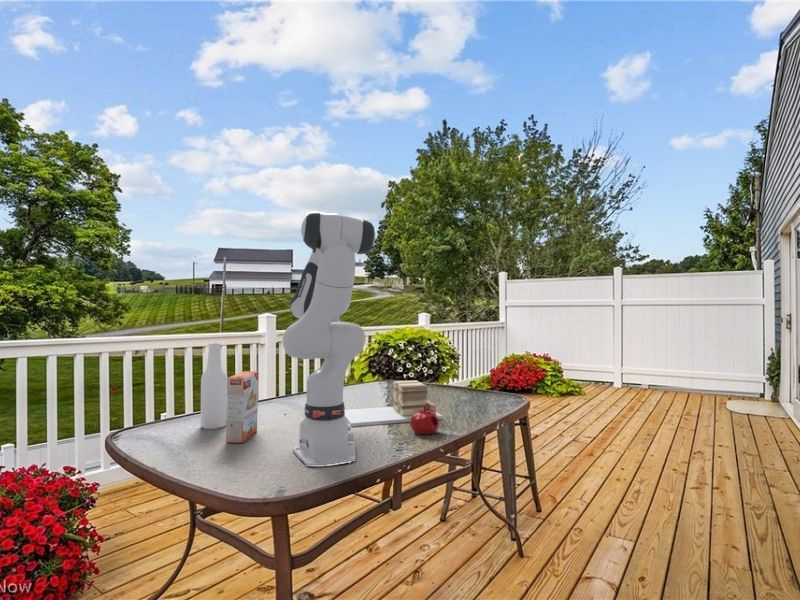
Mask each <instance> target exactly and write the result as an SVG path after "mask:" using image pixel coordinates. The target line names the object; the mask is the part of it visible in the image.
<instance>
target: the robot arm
mask: <svg viewBox="0 0 800 600" xmlns="http://www.w3.org/2000/svg"><path fill="white" fill-rule="evenodd" d="M300 232H301V237H302V241H303V242H304V244H305V245H306V246H307V247H308V248H310V249H311V250H312V252H311V254H310V255H309V258H308V260H307V262H306V265H305V267H304V269H303V270H302V271H303V272H302V274H301V276H300V277H301V278H300V280H299V282H298V285H297V288H296V292H295V295H294V296H293V297H290V301H289V309H290V313H291V314H292V316H293V317H294V318H295V319H297V320H296V321H295V322H293V323H292V324H290V325H289V326H288V327H287V328H286V329H285V331H284V333H283V336H282V346H283V349H284V351H285V353H286V355H288V356H289V357H290V358H295V359H303V360H309V359H310V360H311V359H312V360H313V359H324V360H323V363H322V365H321V366H320V367H319V368H318V369H316V370H315V371H312V372H311V373H310V375H309V376H308V377H307V380H306V403H305V404H304V417H303V420H302V421H301V422H300V423H299V431H298V432H299V433H298V434H299V435H298V445H297V446H294V447H293V448H292V452H293V453H294V455H296V457H297V458H298V459H299V460H300V459H301V460H302V461H303V462H304V463H305V464H306V465H327V464H335V463H341V462H348V461H353V460H355V459H357V458H356V457H357V456H356V446H355V445H356V444H355V442H354V438H355V437H354V432H350V431H351V430H352V429H351V426H350V425H349V423H348V419H347V418H345V417H344V415H345V410H346V408H345V402H344V401H343V400H344V384H345V377H346V373H347V371H348V368H349V366H350V364H351V362H352V361H353V360H354V359H355V358H356V357H357V355H359V354H360V353H361V352H362V350H364V347H365V346H366V345H365V344H366V334H365V332H364V329H363V327H362V326H360V324H358V323H354V322H348V321H342V320H341V319H340V318H341V316H342V315H344V314H345V313H346V312H347V311H348V309H349V308H350V305H351V301H352V296H353V295H352V294H353V288H354V283H355V276H356V254H357V255H367V254H368V253H369V252H371V251H372V249H373V247H374V245H375V242H376V232H375V226H374V224H373V223H372V222H371V221H368V220H366V219H359V218H355V217H351V216H348V215H347V216H346V215H343V214H339V213H331V212H330V213H329V212H320V211H309V212H308V213H307V214H305V217H304V219H303V221H302V224H301V228H300ZM349 432H350V433H349ZM301 460H300V461H301ZM345 460H347V461H345ZM302 461H301V462H302ZM303 462H302V463H303ZM304 463H303V464H304ZM317 463H318V464H317ZM305 464H304V465H305ZM306 465H305V466H306Z"/></svg>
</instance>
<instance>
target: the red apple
mask: <svg viewBox="0 0 800 600" xmlns="http://www.w3.org/2000/svg"><path fill="white" fill-rule="evenodd" d="M423 407H424V410H423V412H422V411H420V410H418V412H419V411H420V412H419V413H416V414H414V415H413V416H412V417H411V420H410V422H409V424H410V428H411V429H412V431H414V432H415V433H416V434H418V433H420V434H419V435H432V434H431V433H433V434H435V433H436V432H437V430H438V428H439V424H440V421H439V420H440V419H439V420H438V418H437V417H436V415H435V414H433V412H435V411H433V410H431V411H433V412H432V413H431V411H426V405H424V406H423Z"/></svg>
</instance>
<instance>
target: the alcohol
mask: <svg viewBox="0 0 800 600" xmlns="http://www.w3.org/2000/svg"><path fill="white" fill-rule="evenodd" d="M221 356H222V355H221V342H219V341H215V342H214V341H213V342H209V343H208V356H207V364H206V369H205V370H204V372H202V374H201V378H200V427H201V428H202V429H203V428H204V429H203V430H218V429H222V428H225V427H226V420H227V378H228V375H227V372H226V370H224V369H223V366H222V357H221Z"/></svg>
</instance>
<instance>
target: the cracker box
mask: <svg viewBox="0 0 800 600" xmlns="http://www.w3.org/2000/svg"><path fill="white" fill-rule="evenodd" d="M258 402H259V371H252V370H251V371H241V372H239V373H236V374H234V375H231V376H229V377H227V420H226V426H225V427H226V429H225V434H226V435H225V443H230V444H244V442H246V441H247V440H248V439H250V437H252V436H253V435H254V434H256V433H257V431H258V408H259V407H258V404H259V403H258Z"/></svg>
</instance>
